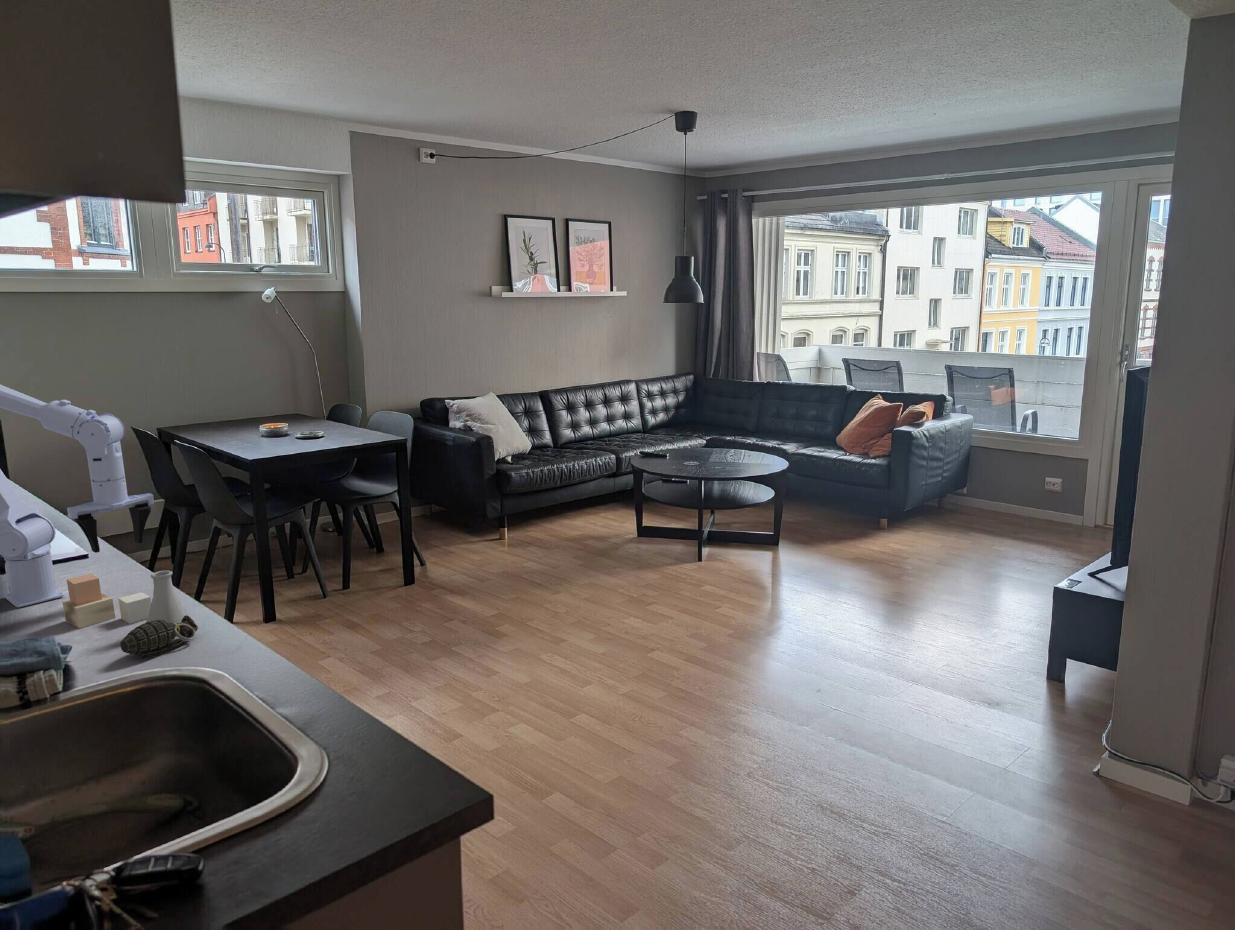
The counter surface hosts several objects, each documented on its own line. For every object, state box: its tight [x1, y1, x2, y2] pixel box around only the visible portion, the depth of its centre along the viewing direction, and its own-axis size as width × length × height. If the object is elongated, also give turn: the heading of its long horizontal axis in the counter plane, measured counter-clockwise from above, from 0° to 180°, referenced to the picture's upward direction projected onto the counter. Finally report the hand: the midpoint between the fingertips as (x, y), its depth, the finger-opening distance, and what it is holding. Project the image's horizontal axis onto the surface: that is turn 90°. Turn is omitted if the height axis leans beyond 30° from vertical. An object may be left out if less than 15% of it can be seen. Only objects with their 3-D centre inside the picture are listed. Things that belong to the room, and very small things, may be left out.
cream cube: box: [118, 591, 152, 625], centre depth 155 cm, size 4×4×4 cm
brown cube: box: [66, 573, 102, 605], centre depth 154 cm, size 4×4×4 cm
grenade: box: [119, 615, 199, 660], centre depth 141 cm, size 6×5×12 cm
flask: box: [145, 570, 191, 624], centre depth 150 cm, size 7×7×10 cm
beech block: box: [62, 592, 116, 629], centre depth 155 cm, size 6×6×4 cm
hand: (117, 546), depth 165 cm, fingers open, 7 cm apart
